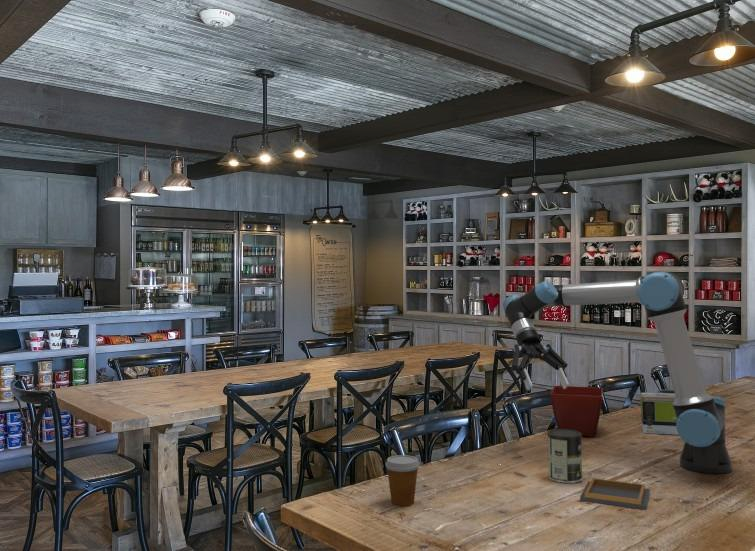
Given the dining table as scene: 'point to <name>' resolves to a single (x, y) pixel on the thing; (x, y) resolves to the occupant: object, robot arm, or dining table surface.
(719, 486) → the dining table surface
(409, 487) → the disposable coffee cup
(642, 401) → the tea box
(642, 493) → the mount plate
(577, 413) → the plant pot
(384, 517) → the dining table surface
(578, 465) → the coffee can
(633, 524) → the dining table surface
